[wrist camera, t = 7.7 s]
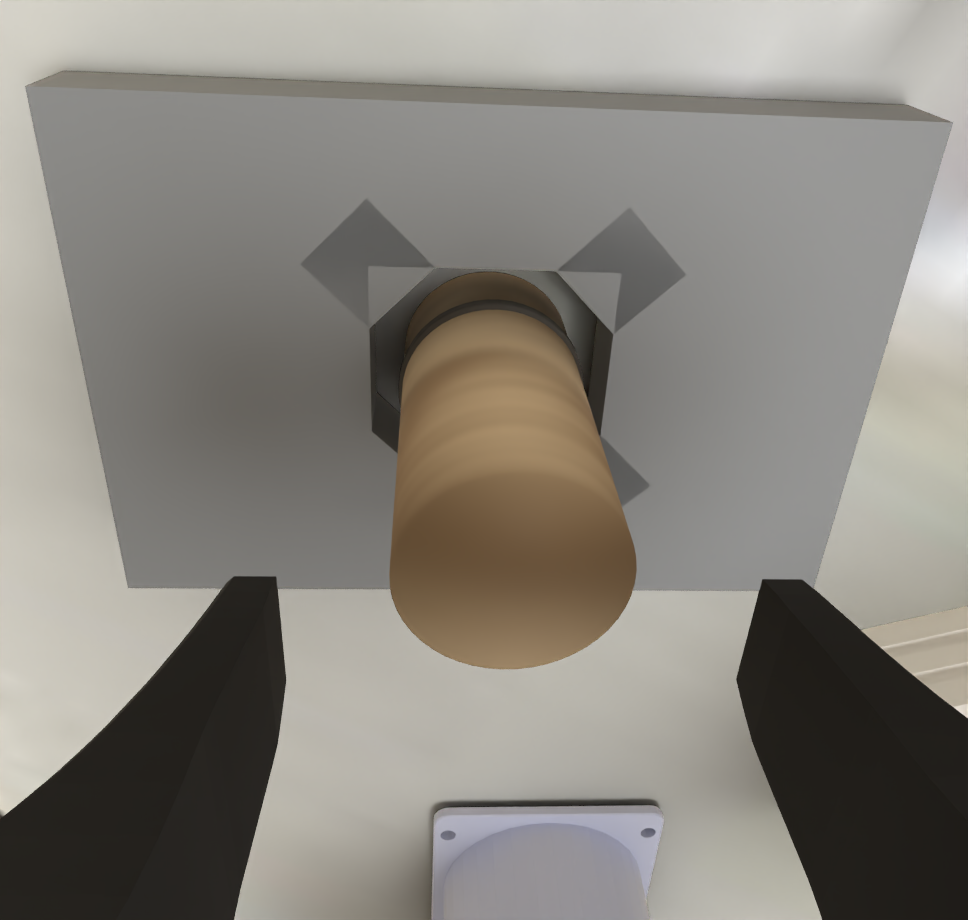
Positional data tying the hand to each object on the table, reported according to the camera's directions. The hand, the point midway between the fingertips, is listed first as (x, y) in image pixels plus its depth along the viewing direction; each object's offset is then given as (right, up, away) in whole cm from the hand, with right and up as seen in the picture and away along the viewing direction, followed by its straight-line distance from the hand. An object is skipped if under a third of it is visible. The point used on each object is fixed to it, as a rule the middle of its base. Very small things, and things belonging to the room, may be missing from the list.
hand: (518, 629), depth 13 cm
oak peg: (0, +5, +9) cm, 10 cm away
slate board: (-1, +5, +9) cm, 10 cm away
